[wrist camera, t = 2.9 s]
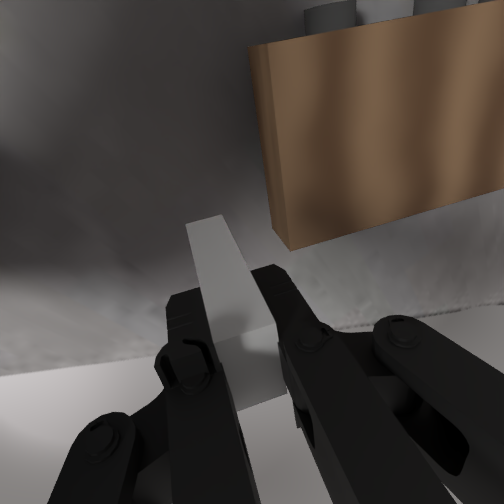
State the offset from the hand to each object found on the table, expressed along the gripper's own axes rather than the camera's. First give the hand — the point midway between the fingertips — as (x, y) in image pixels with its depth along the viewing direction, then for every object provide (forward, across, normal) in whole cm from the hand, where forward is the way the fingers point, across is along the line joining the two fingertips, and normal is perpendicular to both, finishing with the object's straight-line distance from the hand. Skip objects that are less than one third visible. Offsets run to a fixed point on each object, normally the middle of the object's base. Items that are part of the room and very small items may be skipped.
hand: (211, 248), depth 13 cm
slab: (+11, +16, 0) cm, 19 cm away
